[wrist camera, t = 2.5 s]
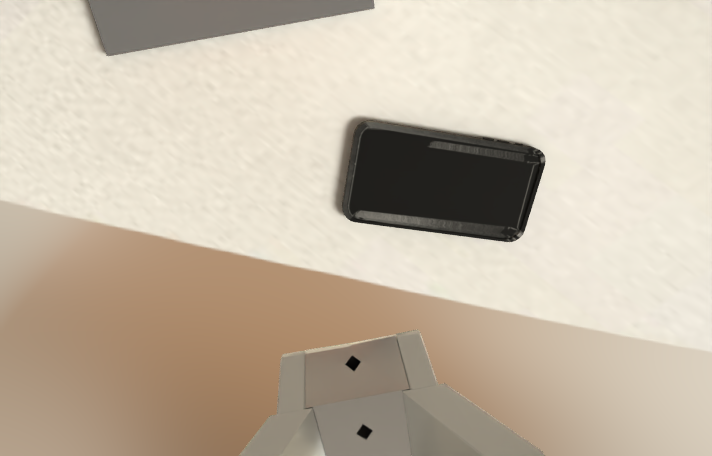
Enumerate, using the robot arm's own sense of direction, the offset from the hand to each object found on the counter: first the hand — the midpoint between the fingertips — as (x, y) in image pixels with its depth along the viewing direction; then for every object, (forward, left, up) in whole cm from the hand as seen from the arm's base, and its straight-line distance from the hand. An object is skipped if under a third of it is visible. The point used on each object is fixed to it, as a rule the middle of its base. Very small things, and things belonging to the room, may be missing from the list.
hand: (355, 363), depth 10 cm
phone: (-5, +8, -27) cm, 28 cm away
